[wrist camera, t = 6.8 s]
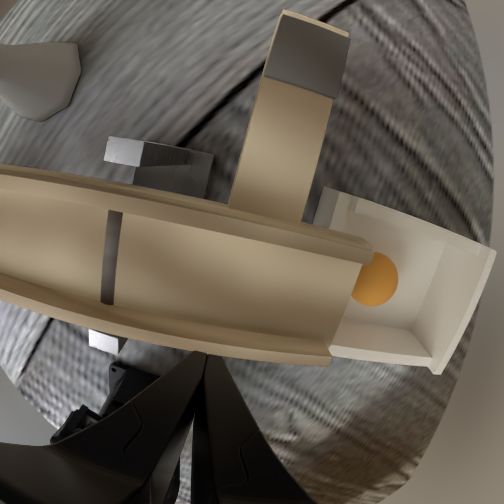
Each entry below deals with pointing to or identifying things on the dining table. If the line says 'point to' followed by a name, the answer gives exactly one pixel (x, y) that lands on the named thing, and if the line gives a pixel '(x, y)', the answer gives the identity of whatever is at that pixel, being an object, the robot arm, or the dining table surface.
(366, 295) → the ball
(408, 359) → the white open box
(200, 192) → the stand
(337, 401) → the dining table surface
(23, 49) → the flask
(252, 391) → the dining table surface
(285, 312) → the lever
